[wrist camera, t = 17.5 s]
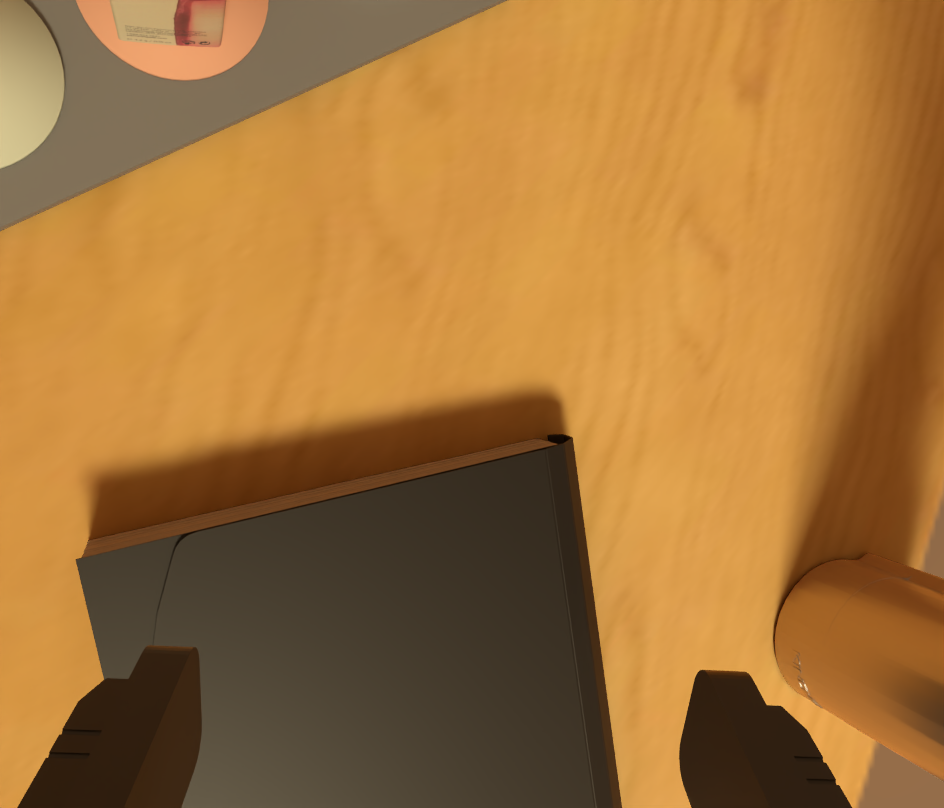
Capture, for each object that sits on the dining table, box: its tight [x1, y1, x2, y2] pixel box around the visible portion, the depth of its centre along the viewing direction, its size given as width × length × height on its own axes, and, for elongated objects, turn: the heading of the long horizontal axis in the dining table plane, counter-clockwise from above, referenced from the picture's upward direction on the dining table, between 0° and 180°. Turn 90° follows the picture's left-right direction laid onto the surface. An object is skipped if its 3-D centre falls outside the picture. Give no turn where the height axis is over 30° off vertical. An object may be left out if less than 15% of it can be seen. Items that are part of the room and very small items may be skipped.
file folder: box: [76, 434, 622, 808], centre depth 42 cm, size 33×4×24 cm
